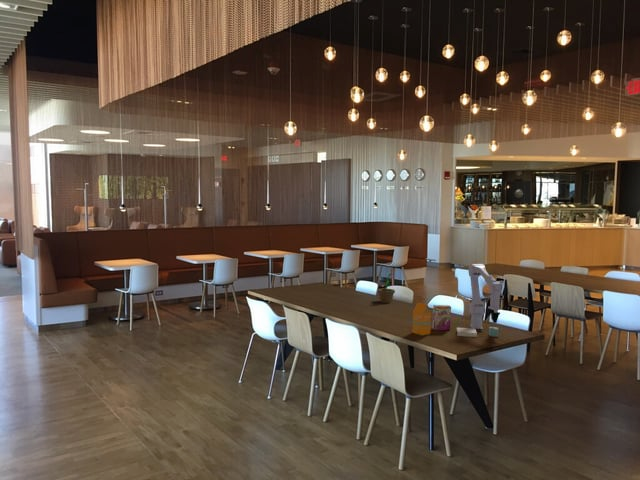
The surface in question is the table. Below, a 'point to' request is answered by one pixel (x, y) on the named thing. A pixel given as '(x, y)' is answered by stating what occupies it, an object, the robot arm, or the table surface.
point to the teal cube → (493, 331)
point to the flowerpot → (386, 293)
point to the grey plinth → (466, 332)
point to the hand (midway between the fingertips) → (494, 321)
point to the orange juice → (421, 319)
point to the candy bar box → (441, 317)
